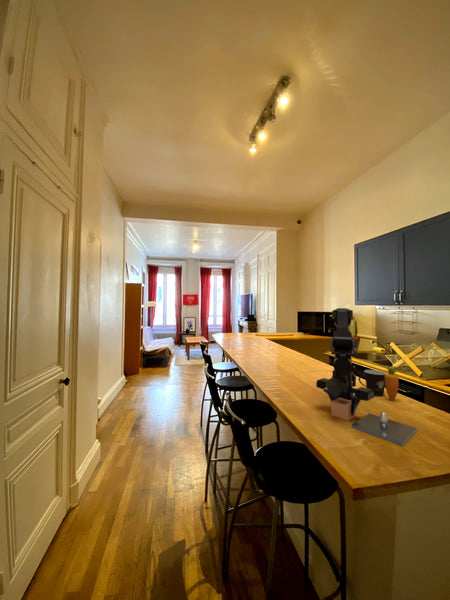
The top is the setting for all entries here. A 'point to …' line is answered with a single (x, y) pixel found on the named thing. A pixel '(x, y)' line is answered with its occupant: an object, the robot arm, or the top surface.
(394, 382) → the carrot
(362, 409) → the top surface
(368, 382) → the coffee mug
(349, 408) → the socket block
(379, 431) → the pin plate
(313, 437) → the top surface
